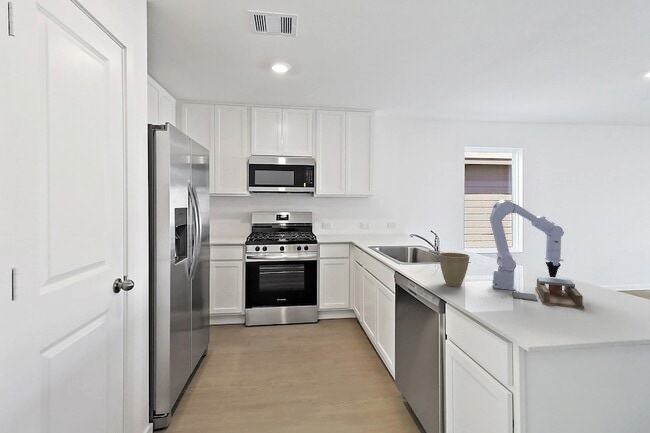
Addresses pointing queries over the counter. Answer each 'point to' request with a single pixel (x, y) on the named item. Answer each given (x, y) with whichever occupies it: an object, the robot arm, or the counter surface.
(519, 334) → the counter surface
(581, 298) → the brown tray
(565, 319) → the counter surface
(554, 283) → the lid
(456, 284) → the plant pot
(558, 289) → the block
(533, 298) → the mat
